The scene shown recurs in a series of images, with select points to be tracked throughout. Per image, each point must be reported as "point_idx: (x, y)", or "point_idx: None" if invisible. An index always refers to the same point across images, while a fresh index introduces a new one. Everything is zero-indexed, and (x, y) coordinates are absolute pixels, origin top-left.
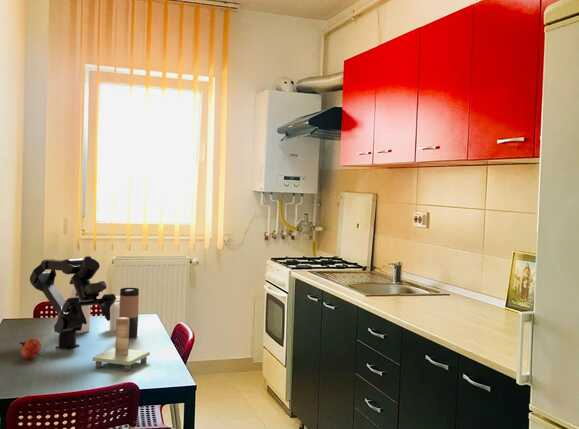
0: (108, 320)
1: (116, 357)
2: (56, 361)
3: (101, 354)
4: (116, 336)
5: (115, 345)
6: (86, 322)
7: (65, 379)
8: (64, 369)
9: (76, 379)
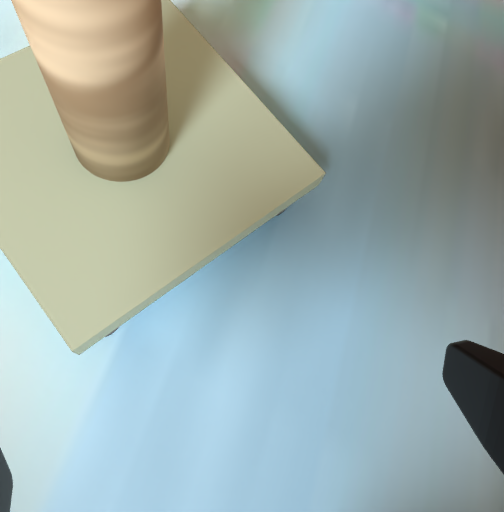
0: (6, 466)
1: (187, 95)
2: (480, 468)
3: (250, 207)
4: (162, 24)
5: (165, 106)
6: (457, 343)
7: (464, 103)
8: (451, 259)
9: (419, 78)
